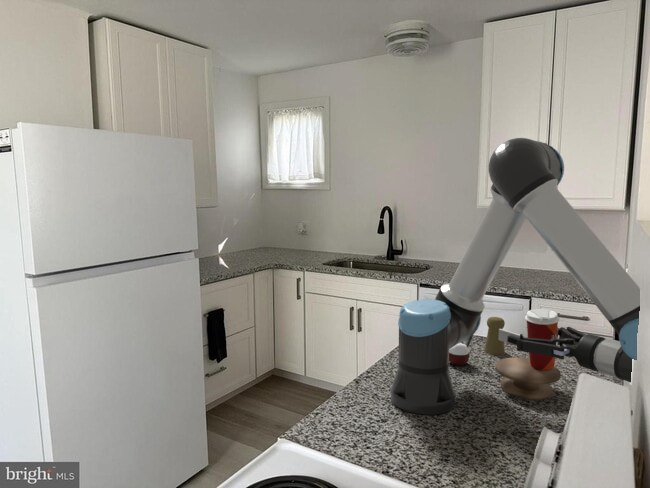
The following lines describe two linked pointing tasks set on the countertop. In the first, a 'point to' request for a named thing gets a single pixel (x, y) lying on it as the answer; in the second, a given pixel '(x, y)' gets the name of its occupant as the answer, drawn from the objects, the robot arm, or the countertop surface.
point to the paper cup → (542, 335)
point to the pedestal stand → (526, 379)
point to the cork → (494, 336)
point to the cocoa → (459, 353)
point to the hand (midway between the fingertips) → (517, 330)
